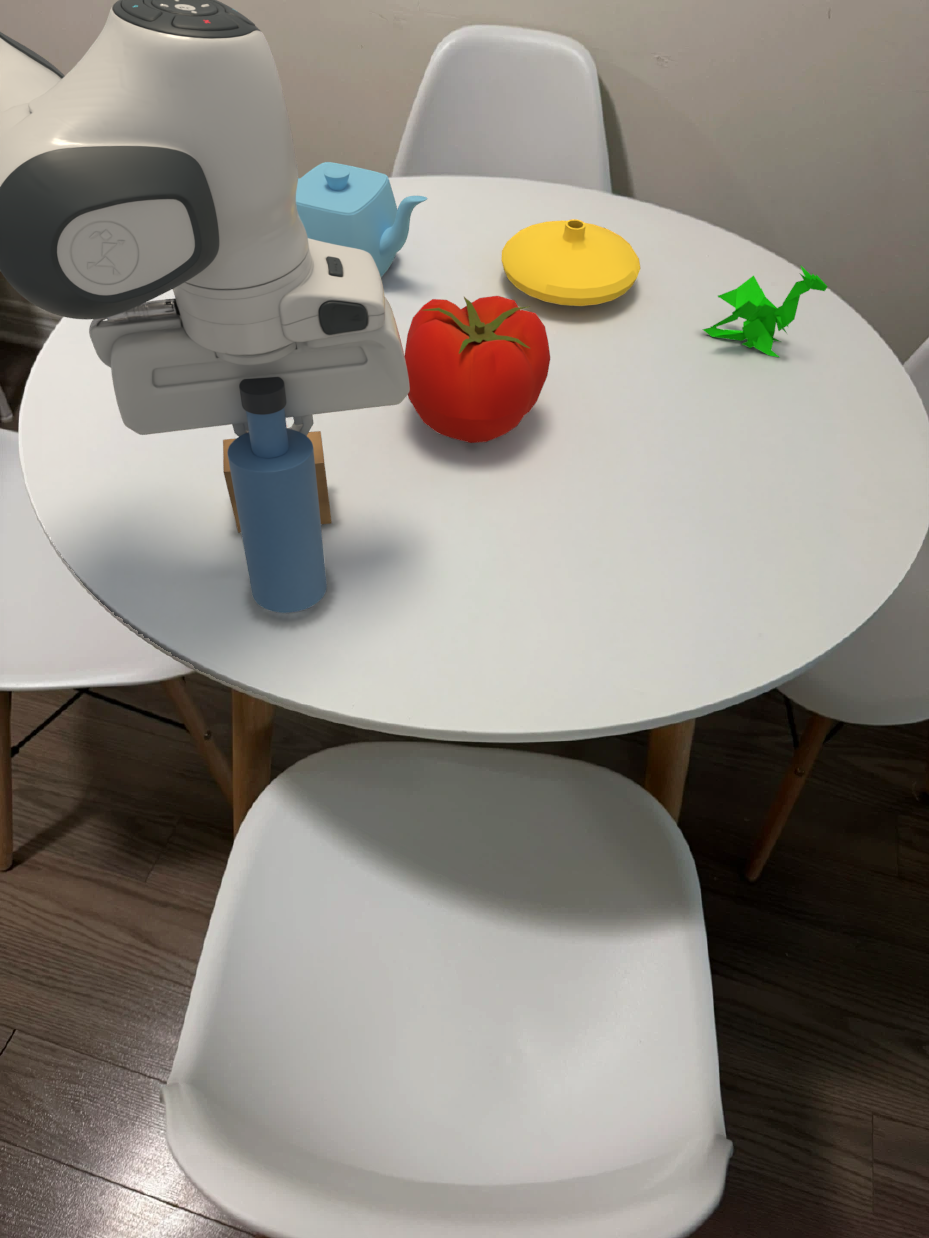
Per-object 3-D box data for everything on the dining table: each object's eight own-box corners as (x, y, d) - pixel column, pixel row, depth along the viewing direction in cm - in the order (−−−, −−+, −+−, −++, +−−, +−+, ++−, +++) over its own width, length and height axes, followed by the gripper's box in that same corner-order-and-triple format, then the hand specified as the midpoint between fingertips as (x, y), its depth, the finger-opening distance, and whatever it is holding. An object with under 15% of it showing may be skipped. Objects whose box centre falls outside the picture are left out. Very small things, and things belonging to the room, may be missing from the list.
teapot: (406, 320, 96) (403, 217, 87) (259, 283, 99) (242, 180, 90) (447, 264, 103) (449, 164, 94) (309, 232, 107) (298, 133, 98)
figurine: (814, 367, 92) (829, 285, 85) (697, 362, 95) (701, 283, 88) (818, 335, 95) (832, 253, 89) (704, 331, 99) (710, 252, 92)
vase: (479, 259, 104) (482, 200, 99) (600, 240, 108) (609, 182, 102) (530, 333, 95) (536, 272, 89) (659, 309, 99) (673, 250, 93)
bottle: (255, 627, 71) (223, 541, 54) (246, 485, 75) (213, 363, 58) (330, 620, 72) (320, 534, 55) (317, 480, 76) (304, 359, 59)
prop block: (238, 533, 75) (223, 472, 70) (237, 500, 78) (222, 439, 72) (331, 523, 76) (324, 462, 71) (328, 492, 79) (320, 430, 73)
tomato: (401, 461, 82) (397, 353, 72) (412, 368, 90) (410, 262, 81) (543, 468, 82) (558, 361, 72) (540, 375, 90) (553, 269, 81)
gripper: (75, 339, 53) (141, 501, 64) (408, 303, 56) (417, 465, 67) (83, 282, 57) (144, 444, 68) (394, 251, 59) (404, 412, 70)
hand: (281, 454), depth 67 cm, fingers closed
